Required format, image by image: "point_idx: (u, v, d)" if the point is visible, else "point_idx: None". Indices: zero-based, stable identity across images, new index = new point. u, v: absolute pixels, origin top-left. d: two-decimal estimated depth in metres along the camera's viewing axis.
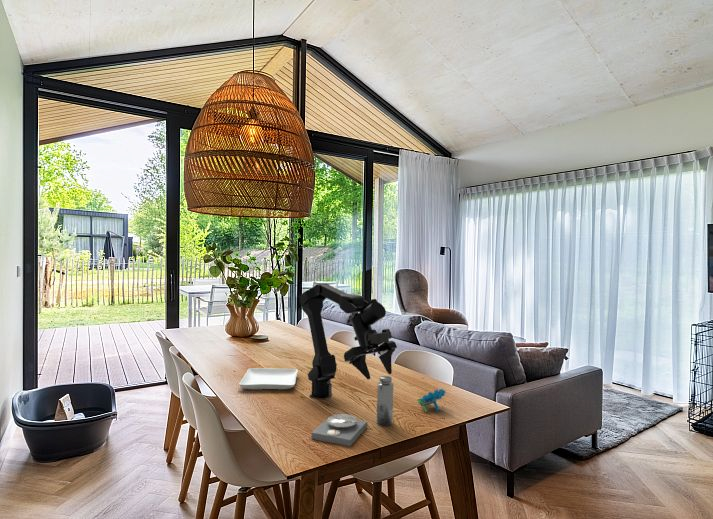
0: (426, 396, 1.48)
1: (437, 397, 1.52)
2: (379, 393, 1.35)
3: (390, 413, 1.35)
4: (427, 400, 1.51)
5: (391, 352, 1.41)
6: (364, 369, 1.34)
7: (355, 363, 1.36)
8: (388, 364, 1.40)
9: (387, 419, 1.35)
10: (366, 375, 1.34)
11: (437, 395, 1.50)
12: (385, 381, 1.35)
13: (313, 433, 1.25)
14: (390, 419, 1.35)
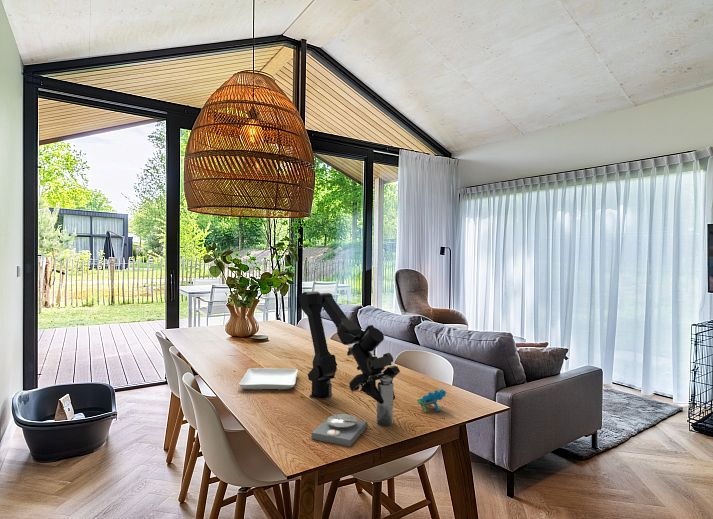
0: (426, 396, 1.48)
1: (438, 397, 1.52)
2: None
3: (390, 413, 1.35)
4: (427, 400, 1.50)
5: None
6: (376, 394, 1.35)
7: (366, 390, 1.37)
8: None
9: (387, 419, 1.35)
10: (379, 400, 1.34)
11: (437, 395, 1.50)
12: (385, 381, 1.35)
13: (313, 433, 1.25)
14: (390, 419, 1.35)
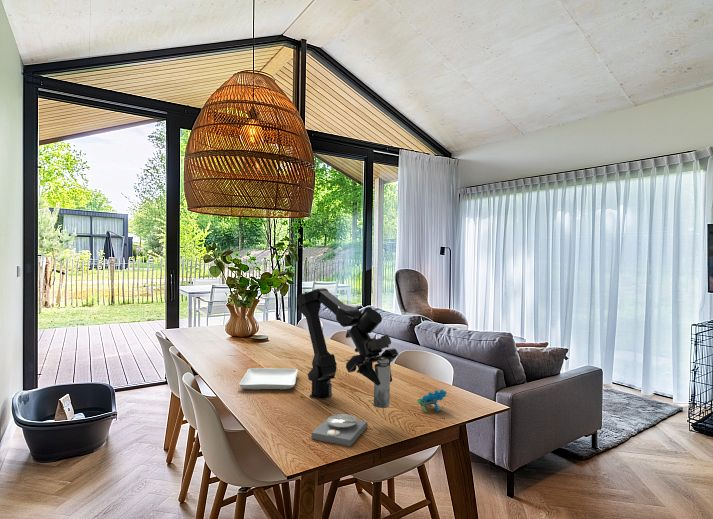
0: (426, 396, 1.48)
1: (438, 398, 1.51)
2: (376, 374, 1.34)
3: (387, 395, 1.34)
4: (427, 400, 1.50)
5: (389, 360, 1.40)
6: (372, 375, 1.34)
7: (363, 371, 1.36)
8: None
9: (384, 401, 1.34)
10: (375, 381, 1.34)
11: (438, 396, 1.50)
12: (382, 363, 1.34)
13: (313, 433, 1.25)
14: (387, 401, 1.34)
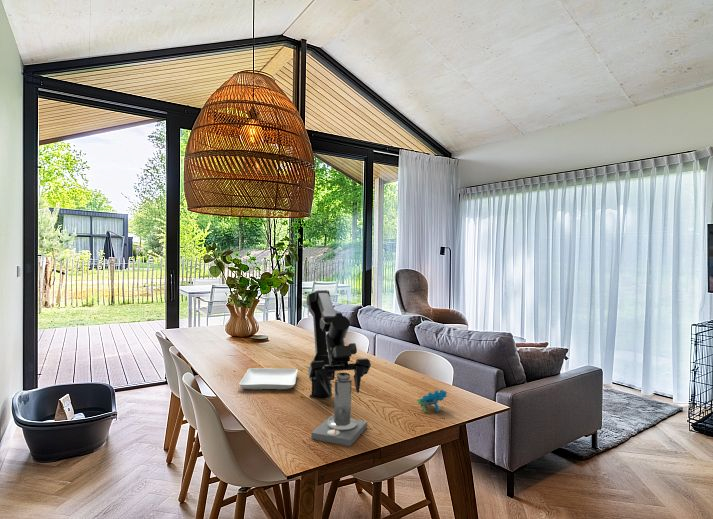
0: (426, 396, 1.48)
1: (438, 398, 1.51)
2: None
3: (344, 412, 1.28)
4: (428, 401, 1.50)
5: (361, 369, 1.33)
6: (325, 384, 1.29)
7: (320, 379, 1.32)
8: (356, 382, 1.32)
9: (340, 419, 1.28)
10: (327, 390, 1.28)
11: (438, 396, 1.49)
12: (339, 378, 1.29)
13: (313, 433, 1.25)
14: (344, 419, 1.28)
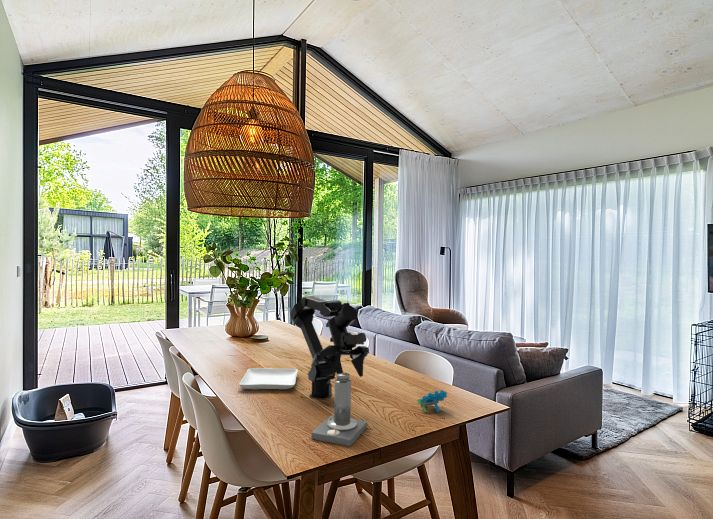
0: (426, 397, 1.48)
1: (439, 398, 1.51)
2: None
3: (344, 412, 1.28)
4: (428, 401, 1.50)
5: (364, 356, 1.48)
6: (338, 367, 1.39)
7: (330, 361, 1.41)
8: (360, 367, 1.47)
9: (340, 419, 1.28)
10: None
11: (438, 396, 1.49)
12: (339, 378, 1.29)
13: (313, 433, 1.25)
14: (344, 419, 1.28)
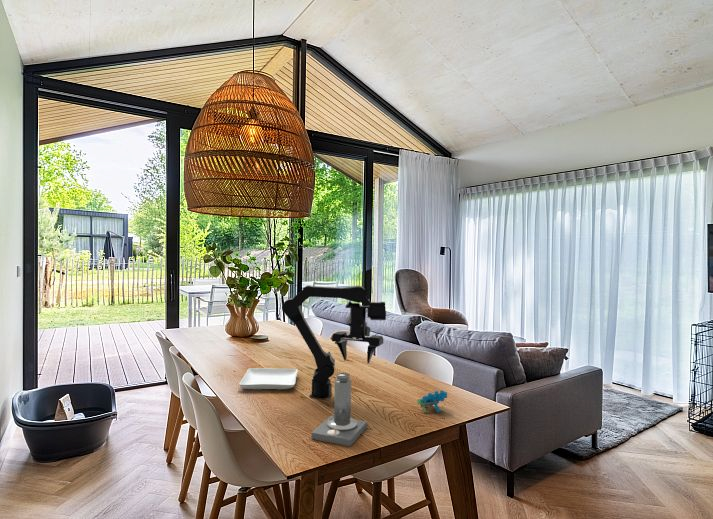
0: (426, 397, 1.47)
1: (439, 399, 1.50)
2: None
3: (344, 412, 1.28)
4: (428, 401, 1.50)
5: None
6: (371, 354, 1.59)
7: (372, 348, 1.57)
8: (346, 352, 1.63)
9: (340, 419, 1.28)
10: (369, 359, 1.59)
11: (438, 396, 1.49)
12: (339, 378, 1.29)
13: (313, 433, 1.25)
14: (344, 419, 1.28)
